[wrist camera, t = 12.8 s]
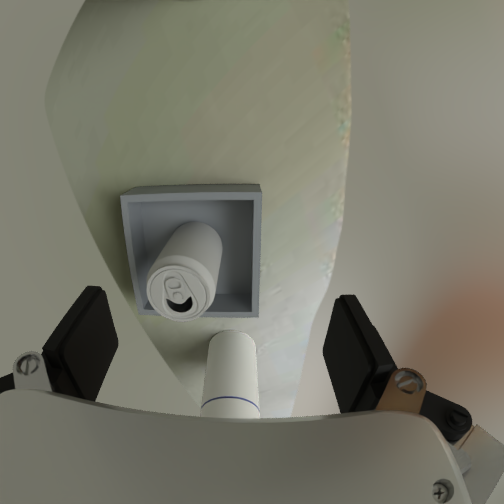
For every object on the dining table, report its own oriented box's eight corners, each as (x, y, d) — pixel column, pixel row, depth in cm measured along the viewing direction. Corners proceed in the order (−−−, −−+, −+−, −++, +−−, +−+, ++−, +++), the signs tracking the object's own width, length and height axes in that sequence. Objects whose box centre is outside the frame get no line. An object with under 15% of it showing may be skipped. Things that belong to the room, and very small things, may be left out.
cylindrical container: (263, 340, 42) (279, 498, 19) (242, 369, 45) (245, 513, 22) (220, 323, 41) (206, 489, 18) (202, 355, 43) (183, 504, 20)
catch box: (135, 186, 33) (120, 195, 28) (259, 184, 33) (262, 192, 29) (149, 294, 39) (138, 314, 34) (256, 295, 39) (258, 317, 34)
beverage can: (177, 270, 36) (153, 328, 25) (166, 223, 34) (133, 266, 23) (226, 265, 36) (220, 323, 25) (218, 215, 34) (206, 257, 23)
